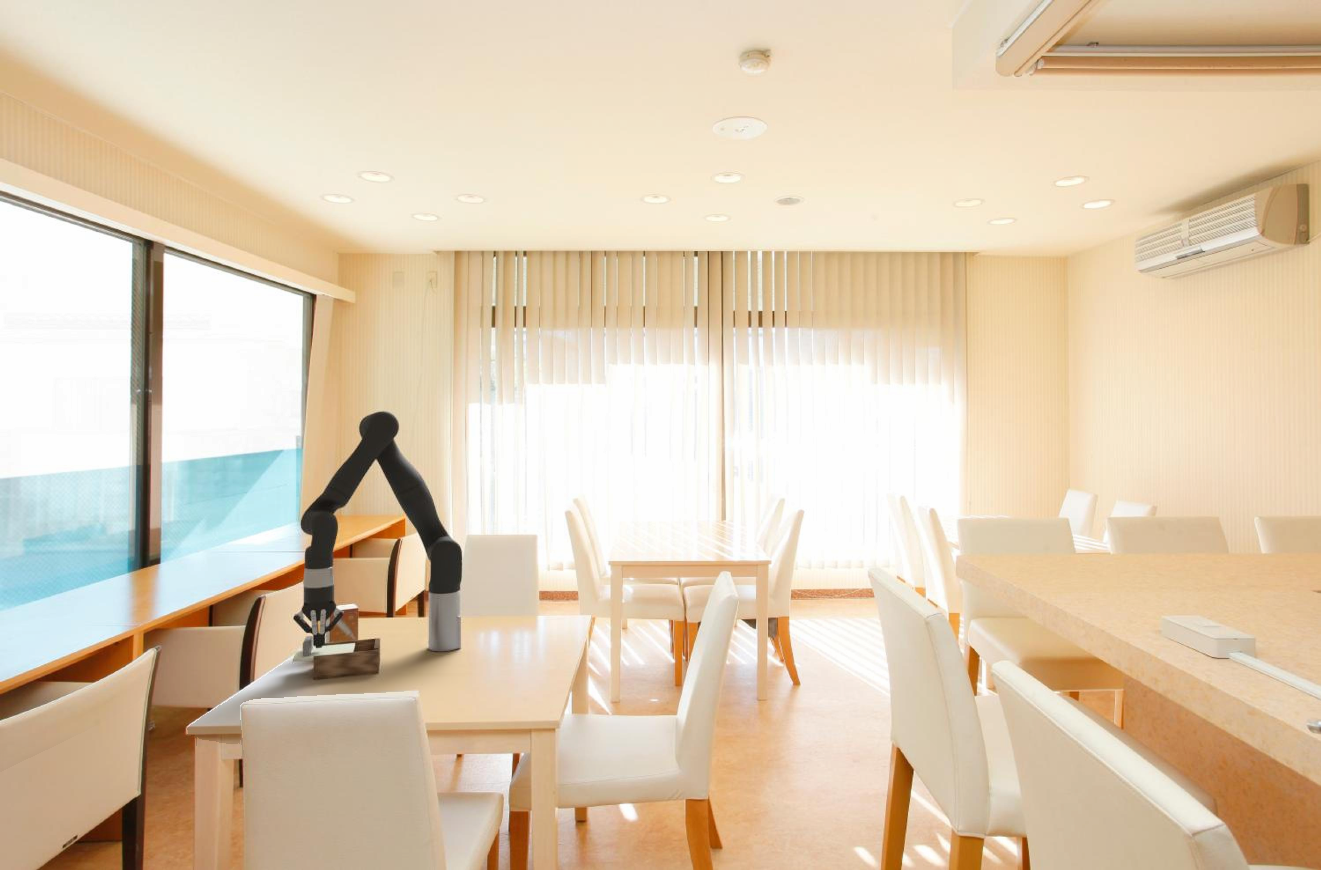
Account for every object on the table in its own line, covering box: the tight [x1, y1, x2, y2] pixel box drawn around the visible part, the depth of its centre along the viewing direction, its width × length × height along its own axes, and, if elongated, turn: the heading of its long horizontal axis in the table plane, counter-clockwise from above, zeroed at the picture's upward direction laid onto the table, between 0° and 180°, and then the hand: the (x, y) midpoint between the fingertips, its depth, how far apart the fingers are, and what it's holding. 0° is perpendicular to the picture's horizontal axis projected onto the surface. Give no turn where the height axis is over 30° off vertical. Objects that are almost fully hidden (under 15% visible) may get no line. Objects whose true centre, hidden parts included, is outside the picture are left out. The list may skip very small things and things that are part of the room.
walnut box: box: [313, 637, 381, 680], centre depth 197 cm, size 16×12×6 cm
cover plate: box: [292, 635, 355, 663], centre depth 195 cm, size 14×11×4 cm
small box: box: [325, 603, 359, 643], centre depth 214 cm, size 8×6×13 cm
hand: (319, 647), depth 194 cm, fingers closed
